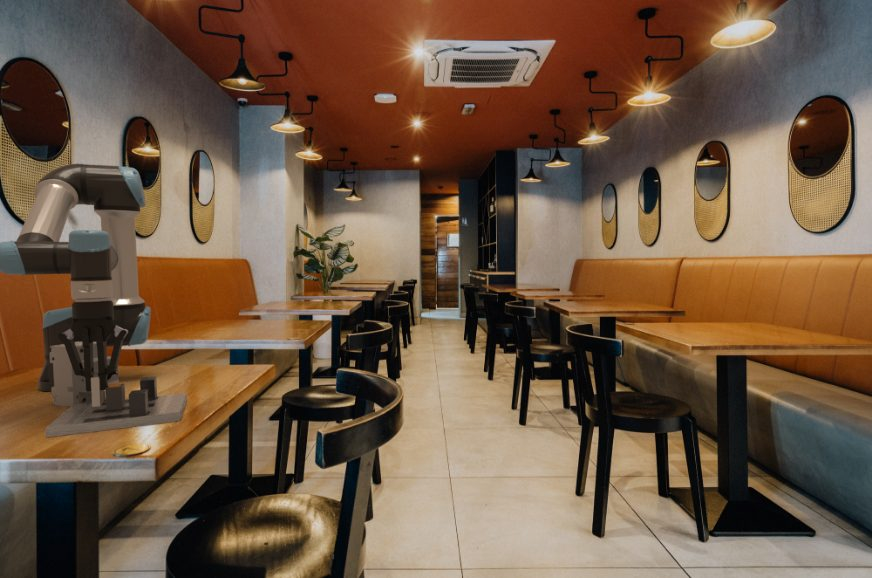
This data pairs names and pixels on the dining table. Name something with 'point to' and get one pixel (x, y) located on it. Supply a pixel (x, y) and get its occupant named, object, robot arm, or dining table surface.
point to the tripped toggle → (115, 396)
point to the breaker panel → (121, 412)
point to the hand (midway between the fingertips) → (97, 404)
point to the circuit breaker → (74, 377)
